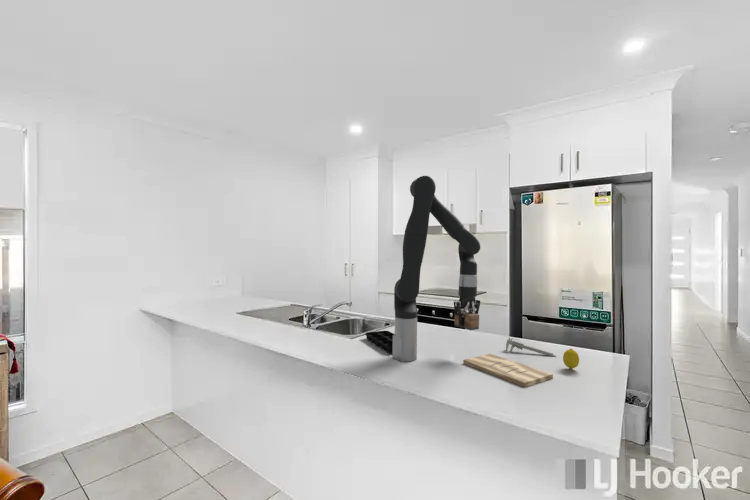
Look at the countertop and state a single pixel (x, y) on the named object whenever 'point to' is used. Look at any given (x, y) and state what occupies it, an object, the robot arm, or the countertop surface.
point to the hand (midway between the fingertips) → (466, 324)
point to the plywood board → (508, 370)
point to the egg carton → (381, 339)
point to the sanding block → (468, 321)
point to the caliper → (526, 347)
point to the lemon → (571, 358)
